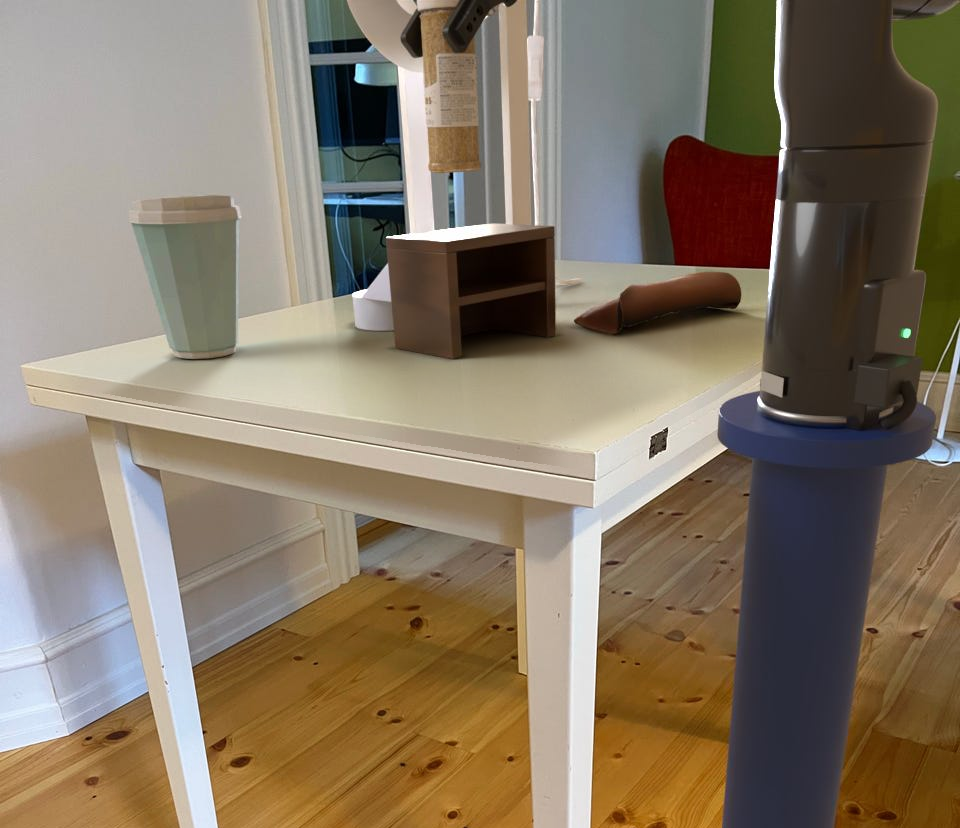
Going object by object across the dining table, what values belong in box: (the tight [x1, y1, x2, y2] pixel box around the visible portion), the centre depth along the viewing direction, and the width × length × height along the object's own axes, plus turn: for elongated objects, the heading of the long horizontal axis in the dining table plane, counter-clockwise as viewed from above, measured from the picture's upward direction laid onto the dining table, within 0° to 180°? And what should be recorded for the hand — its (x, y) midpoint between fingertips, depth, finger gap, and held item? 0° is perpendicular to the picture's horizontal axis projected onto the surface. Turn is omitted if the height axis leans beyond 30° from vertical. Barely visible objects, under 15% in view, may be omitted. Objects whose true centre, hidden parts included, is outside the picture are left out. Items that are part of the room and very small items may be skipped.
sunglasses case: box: [573, 270, 742, 335], centre depth 106 cm, size 18×7×7 cm, turn 127°
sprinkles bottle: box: [417, 0, 482, 174], centre depth 80 cm, size 5×5×13 cm
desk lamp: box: [346, 0, 582, 286], centre depth 114 cm, size 21×32×45 cm, turn 137°
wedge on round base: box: [352, 262, 394, 332], centre depth 109 cm, size 9×7×13 cm
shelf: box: [385, 222, 557, 360], centre depth 98 cm, size 9×14×10 cm, turn 132°
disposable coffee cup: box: [128, 194, 243, 360], centre depth 98 cm, size 11×11×15 cm
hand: (430, 46), depth 78 cm, fingers closed on sprinkles bottle, 4 cm apart
